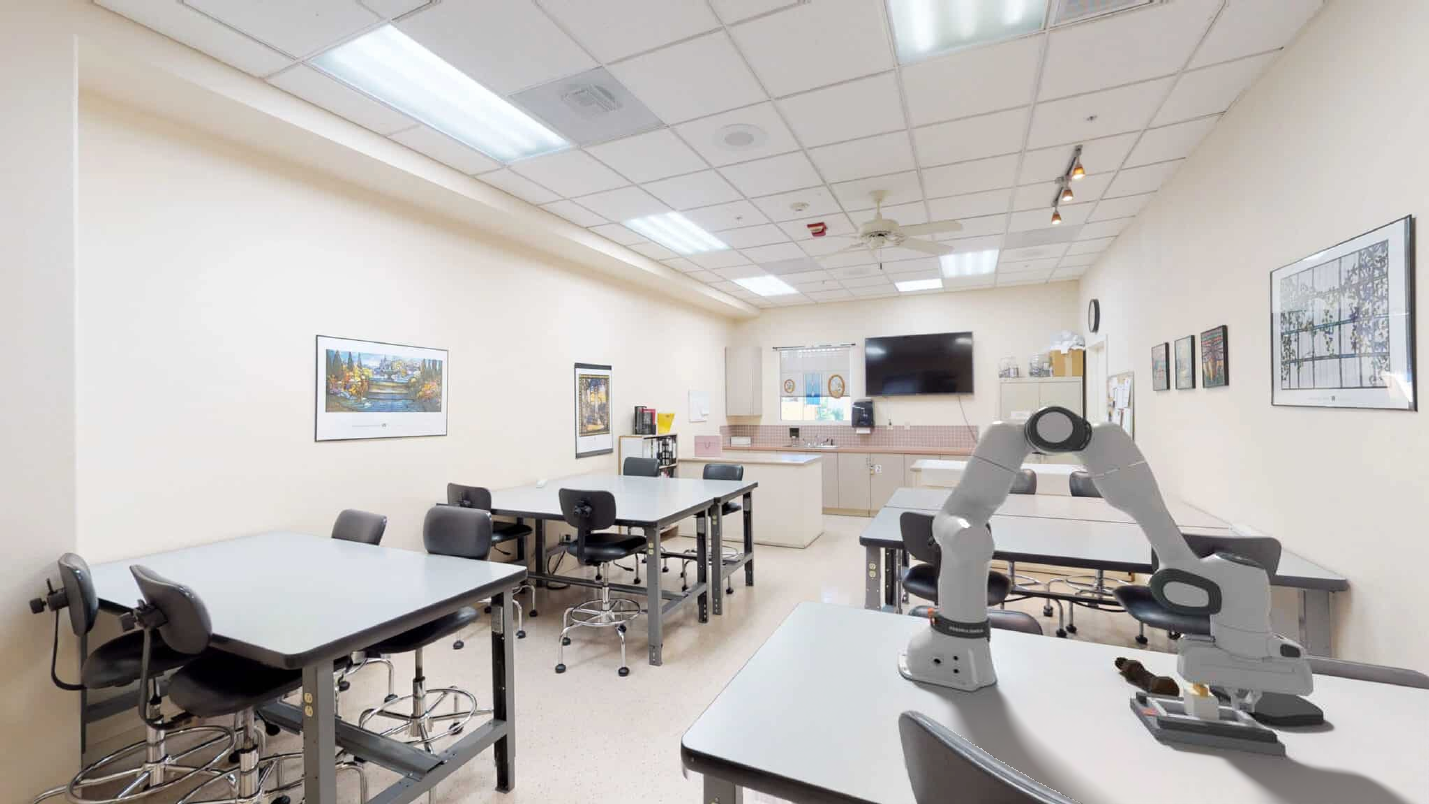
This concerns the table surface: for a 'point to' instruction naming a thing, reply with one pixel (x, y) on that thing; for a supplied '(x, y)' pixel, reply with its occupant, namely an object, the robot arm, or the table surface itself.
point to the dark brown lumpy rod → (1147, 677)
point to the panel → (1203, 737)
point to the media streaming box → (1277, 708)
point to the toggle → (1200, 702)
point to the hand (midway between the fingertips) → (1242, 709)
